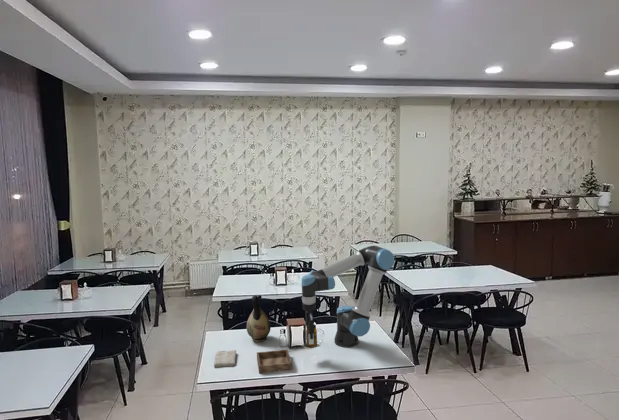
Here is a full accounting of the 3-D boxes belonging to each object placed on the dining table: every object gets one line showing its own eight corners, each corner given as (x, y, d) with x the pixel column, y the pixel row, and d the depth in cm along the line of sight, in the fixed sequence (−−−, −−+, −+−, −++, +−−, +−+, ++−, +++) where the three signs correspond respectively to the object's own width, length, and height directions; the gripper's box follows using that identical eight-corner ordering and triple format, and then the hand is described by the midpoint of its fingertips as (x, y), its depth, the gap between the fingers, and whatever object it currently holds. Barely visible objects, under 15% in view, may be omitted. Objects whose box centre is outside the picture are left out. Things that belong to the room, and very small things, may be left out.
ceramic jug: (250, 334, 293) (249, 290, 289) (273, 334, 290) (271, 290, 287) (243, 344, 276) (241, 298, 273) (267, 345, 274) (265, 299, 270)
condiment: (320, 346, 251) (319, 325, 250) (307, 349, 247) (307, 329, 245) (313, 341, 257) (312, 322, 256) (300, 345, 253) (300, 325, 251)
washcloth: (236, 353, 265) (236, 348, 264) (235, 366, 247) (235, 361, 247) (216, 354, 263) (216, 349, 263) (214, 368, 245) (213, 363, 245)
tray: (287, 355, 259) (287, 349, 258) (292, 370, 241) (291, 363, 241) (256, 359, 255) (256, 352, 255) (259, 373, 238) (258, 366, 237)
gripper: (299, 298, 258) (301, 335, 260) (305, 308, 239) (306, 349, 242) (312, 297, 259) (313, 334, 262) (318, 307, 241) (320, 347, 243)
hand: (310, 341), depth 252 cm, fingers closed on condiment, 6 cm apart
